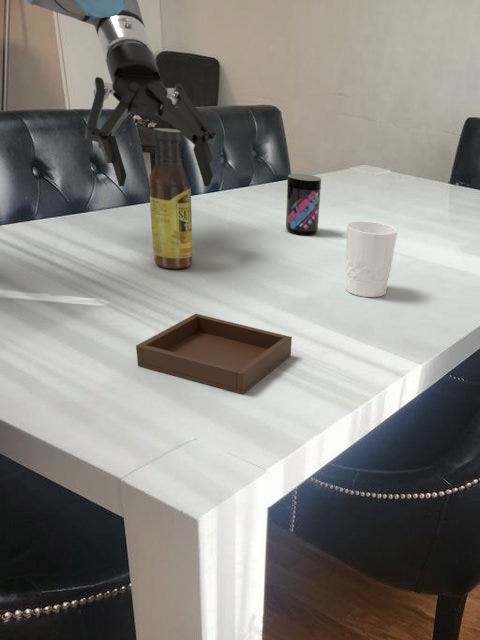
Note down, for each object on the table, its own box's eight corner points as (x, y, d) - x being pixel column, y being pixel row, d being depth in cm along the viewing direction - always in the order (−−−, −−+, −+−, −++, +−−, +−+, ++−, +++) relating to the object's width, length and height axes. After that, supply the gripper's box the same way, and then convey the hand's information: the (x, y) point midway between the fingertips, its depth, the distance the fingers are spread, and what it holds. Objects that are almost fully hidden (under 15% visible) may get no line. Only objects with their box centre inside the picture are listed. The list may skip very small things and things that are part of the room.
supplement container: (279, 231, 133) (281, 175, 127) (295, 225, 138) (298, 172, 132) (307, 237, 131) (311, 182, 125) (323, 232, 136) (327, 178, 130)
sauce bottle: (188, 272, 104) (183, 134, 93) (149, 268, 104) (139, 129, 93) (197, 261, 110) (192, 129, 99) (159, 257, 109) (151, 124, 98)
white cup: (360, 301, 102) (367, 235, 96) (332, 285, 107) (337, 222, 101) (398, 295, 106) (407, 232, 100) (370, 281, 111) (377, 220, 105)
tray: (137, 365, 75) (135, 345, 73) (196, 331, 85) (195, 313, 83) (242, 394, 72) (243, 373, 70) (291, 355, 82) (292, 336, 80)
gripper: (45, 30, 93) (85, 164, 92) (210, 48, 106) (248, 166, 104) (44, 70, 100) (81, 195, 98) (199, 82, 112) (235, 194, 110)
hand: (167, 181), depth 101 cm, fingers open, 13 cm apart
